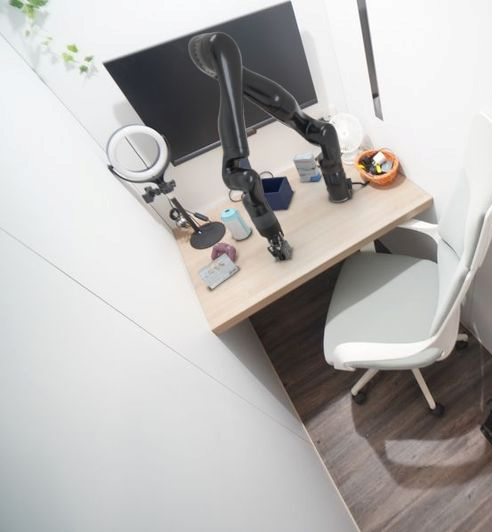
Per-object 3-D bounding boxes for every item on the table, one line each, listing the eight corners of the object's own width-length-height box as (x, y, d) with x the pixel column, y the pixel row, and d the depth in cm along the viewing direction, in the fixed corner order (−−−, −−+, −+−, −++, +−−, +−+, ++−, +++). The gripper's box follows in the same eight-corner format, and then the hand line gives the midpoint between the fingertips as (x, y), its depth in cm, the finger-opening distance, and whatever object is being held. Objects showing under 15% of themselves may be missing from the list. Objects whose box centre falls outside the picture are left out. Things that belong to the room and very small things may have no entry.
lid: (243, 145, 130) (231, 145, 130) (233, 162, 122) (220, 161, 122) (255, 178, 141) (243, 177, 141) (246, 195, 134) (234, 194, 133)
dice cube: (290, 258, 120) (285, 249, 116) (277, 260, 120) (271, 251, 116) (291, 249, 123) (286, 239, 119) (278, 251, 123) (273, 242, 119)
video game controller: (240, 260, 124) (237, 244, 121) (230, 265, 120) (227, 247, 117) (220, 256, 127) (217, 239, 124) (210, 260, 123) (206, 243, 120)
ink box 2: (321, 175, 154) (313, 153, 145) (318, 181, 151) (310, 159, 142) (304, 175, 155) (295, 153, 146) (301, 181, 152) (292, 159, 143)
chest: (293, 192, 147) (286, 176, 141) (287, 209, 139) (279, 192, 133) (263, 195, 148) (254, 179, 142) (255, 212, 141) (246, 195, 134)
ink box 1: (208, 286, 115) (192, 269, 107) (235, 267, 120) (222, 249, 112) (212, 290, 113) (196, 272, 106) (239, 270, 118) (225, 252, 111)
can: (230, 239, 130) (214, 217, 121) (241, 227, 134) (226, 205, 125) (244, 241, 128) (229, 219, 119) (254, 230, 133) (240, 207, 123)
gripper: (273, 233, 103) (292, 266, 116) (278, 205, 113) (295, 239, 126) (250, 237, 103) (271, 270, 116) (257, 209, 113) (276, 242, 126)
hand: (284, 254), depth 121 cm, fingers closed on dice cube, 5 cm apart
